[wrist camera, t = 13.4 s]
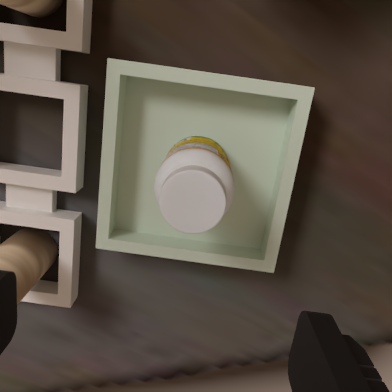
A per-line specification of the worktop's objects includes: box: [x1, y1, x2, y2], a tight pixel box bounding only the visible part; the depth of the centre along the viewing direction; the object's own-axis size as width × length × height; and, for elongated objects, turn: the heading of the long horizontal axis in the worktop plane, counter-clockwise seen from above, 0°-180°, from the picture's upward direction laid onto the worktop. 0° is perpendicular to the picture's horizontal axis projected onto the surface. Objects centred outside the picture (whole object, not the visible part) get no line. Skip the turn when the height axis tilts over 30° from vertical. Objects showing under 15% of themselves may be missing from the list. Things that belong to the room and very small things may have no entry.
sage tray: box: [96, 58, 315, 273], centre depth 30 cm, size 15×15×3 cm
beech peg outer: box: [0, 227, 58, 305], centre depth 31 cm, size 4×4×8 cm
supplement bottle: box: [154, 135, 235, 234], centre depth 26 cm, size 5×5×10 cm
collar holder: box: [0, 0, 93, 308], centre depth 30 cm, size 31×9×2 cm, turn 172°
